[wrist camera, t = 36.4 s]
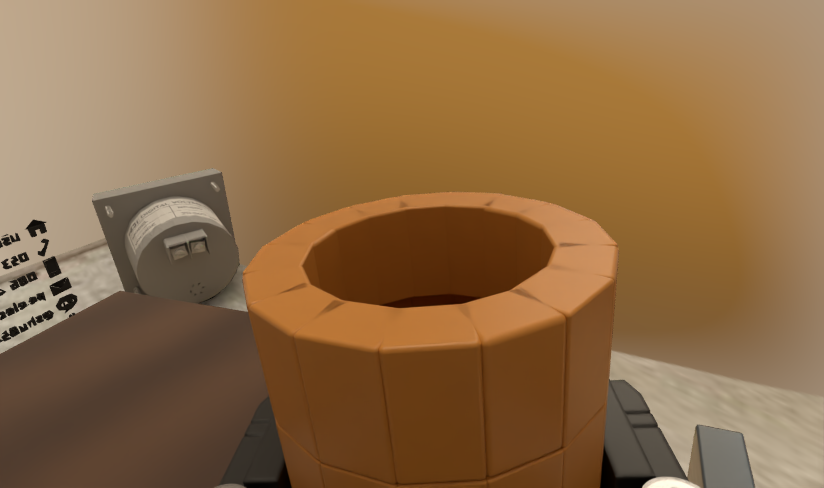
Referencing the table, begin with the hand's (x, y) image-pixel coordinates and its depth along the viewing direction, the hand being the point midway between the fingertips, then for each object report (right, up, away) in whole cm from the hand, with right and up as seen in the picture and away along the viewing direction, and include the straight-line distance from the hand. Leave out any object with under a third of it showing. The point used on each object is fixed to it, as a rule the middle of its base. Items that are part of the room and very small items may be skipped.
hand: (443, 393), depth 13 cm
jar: (+1, -8, +1) cm, 8 cm away
